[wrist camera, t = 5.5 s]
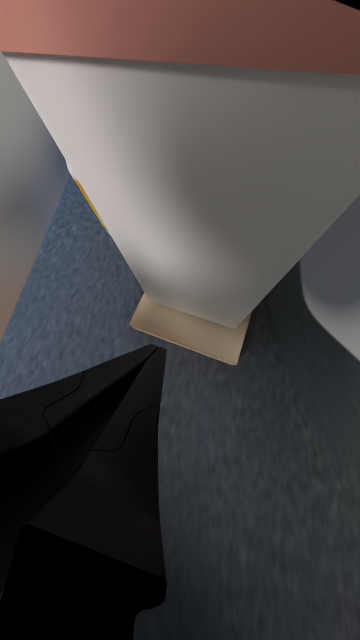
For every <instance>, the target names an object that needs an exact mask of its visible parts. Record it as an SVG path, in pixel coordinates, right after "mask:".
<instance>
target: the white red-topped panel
mask: <svg viewBox="0 0 360 640" xmlns="http://www.w3.org/2000/svg"><path fill="white" fill-rule="evenodd" d="M0 51H2V53H3V55H4V56H5V58H6V60H7V61H8V63H9V65H10V66H11V68H12V70H13V71H14V73H15V75H16V77H17V78H18V80H19V81H20V83H21V85H22V87H23V88H24V90H25V92H26V93H27V95H28V97H29V98H30V100H31V102H32V103H33V105H34V107H35V109H36V110H37V112H38V114H39V115H40V117H41V119H42V120H43V122H44V124H45V125H46V127H47V129H48V130H49V132H50V134H51V135H52V137H53V139H54V140H55V142H56V144H57V146H58V147H59V149H60V150H61V152H62V154H63V156H64V157H65V159H66V161H67V162H68V164H69V166H70V167H71V169H72V171H73V173H74V174H75V176H76V178H77V179H78V181H79V183H80V184H81V186H82V188H83V189H84V191H85V193H86V194H87V196H88V198H89V199H90V201H91V203H92V204H93V206H94V208H95V210H96V211H97V213H98V215H99V216H100V218H101V220H102V221H103V223H104V225H105V226H106V228H107V230H108V231H109V233H110V235H111V236H112V238H113V240H114V242H115V243H116V245H117V247H118V248H119V250H120V252H121V253H122V255H123V257H124V258H125V260H126V262H127V263H128V265H129V267H130V268H131V270H132V272H133V273H134V275H135V277H136V279H137V280H138V282H139V284H140V285H141V287H142V289H143V290H144V292H145V294H146V295H147V297H148V299H149V300H150V301H151V302H154V303H157V304H160V305H163V306H166V307H169V308H172V309H175V310H178V311H181V312H184V313H187V314H190V315H193V316H196V317H199V318H202V319H205V320H208V321H211V322H214V323H217V324H220V325H223V326H226V327H229V328H232V329H236V328H237V326H238V325H239V324H240V323H241V322H242V321H243V320H244V319H245V318H246V317H247V316H248V315H249V314H250V312H251V311H252V310H253V309H254V308H255V307H256V306H257V305H258V304H259V303H260V302H261V301H262V300H263V298H264V297H265V296H266V295H267V294H268V293H269V292H270V291H271V290H272V289H273V288H274V287H275V285H276V284H277V283H278V282H279V281H280V280H281V279H282V278H283V277H284V276H285V275H286V274H287V273H288V271H289V270H290V269H291V268H292V267H293V266H294V265H295V264H296V263H297V262H298V261H299V260H300V259H301V257H302V256H303V255H304V254H305V253H306V252H307V251H308V250H309V249H310V248H311V247H312V246H313V245H314V243H315V242H316V241H317V240H318V239H319V238H320V237H321V236H322V235H323V234H324V233H325V232H326V231H327V229H328V228H329V227H330V226H331V225H332V224H333V223H334V222H335V221H336V220H337V219H338V218H339V216H340V215H341V214H342V213H343V212H344V211H345V210H346V209H347V208H348V207H349V206H350V205H351V203H352V202H353V201H354V200H355V199H356V198H357V197H358V196H359V195H360V0H0Z"/></svg>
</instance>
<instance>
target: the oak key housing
mask: <svg viewBox="0 0 360 640" xmlns="http://www.w3.org/2000/svg"><path fill="white" fill-rule="evenodd" d="M251 313H252V311H251V312H250V314H249V315H248V316H247V317H246V318H245V319H244V320H243V321H242V322H241V323H240V324H239V325H238V326H237V328H236V329H232V328H229V327H226V326H223V325H220V324H217V323H214V322H211V321H208V320H205V319H202V318H199V317H196V316H193V315H190V314H187V313H184V312H181V311H178V310H175V309H172V308H169V307H166V306H163V305H160V304H157V303H154V302H151V301H150V300H149V299H148V297H147V295H146V294H145V292H144V294H143V296H142V298H141V301H140V303H139V305H138V307H137V309H136V311H135V313H134V315H133V317H132V319H131V321H130V323H129V325H130V326H132V327H133V328H134V329H137V330H140V331H142V332H145V333H148V334H150V335H153V336H156V337H158V338H161V339H164V340H166V341H169V342H172V343H174V344H177V345H180V346H182V347H185V348H188V349H190V350H193V351H196V352H198V353H201V354H204V355H206V356H209V357H212V358H215V359H217V360H220V361H223V362H225V363H228V364H231V365H237V362H238V359H239V355H240V352H241V348H242V344H243V341H244V337H245V334H246V330H247V327H248V323H249V320H250V316H251Z"/></svg>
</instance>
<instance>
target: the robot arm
mask: <svg viewBox="0 0 360 640" xmlns="http://www.w3.org/2000/svg"><path fill="white" fill-rule="evenodd" d="M166 354H167V349H165V348H162V347H159V346H157V345H155V344H149V345H147V346H144V347H142V348H139V349H137V350H134V351H132V352H129V353H127V354H124V355H122V356H119V357H117V358H114V359H112V360H109V361H107V362H104V363H102V364H99V365H97V366H94V367H92V368H89V369H87V370H85V372H84V371H82V372H79V373H77V374H74V375H71V376H69V377H66V378H64V379H61V380H58V381H55V382H52V383H49V384H46V385H43V386H40V387H37V388H34V389H31V390H28V391H25V392H22V393H18V394H15V395H12V396H9V397H6V398H3V399H0V593H1V591H2V590H3V588H4V590H3V594H2V597H1V601H0V640H133V631H134V622H135V617H136V616H137V614H138V613H139V612H140V611H142V610H147V609H151V608H154V607H156V606H158V605H160V604H161V603H163V602H164V600H165V595H166V587H167V580H166V571H165V563H164V554H163V545H162V536H161V527H160V514H159V490H158V423H159V412H160V403H161V395H162V387H163V379H164V371H165V362H166Z"/></svg>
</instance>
